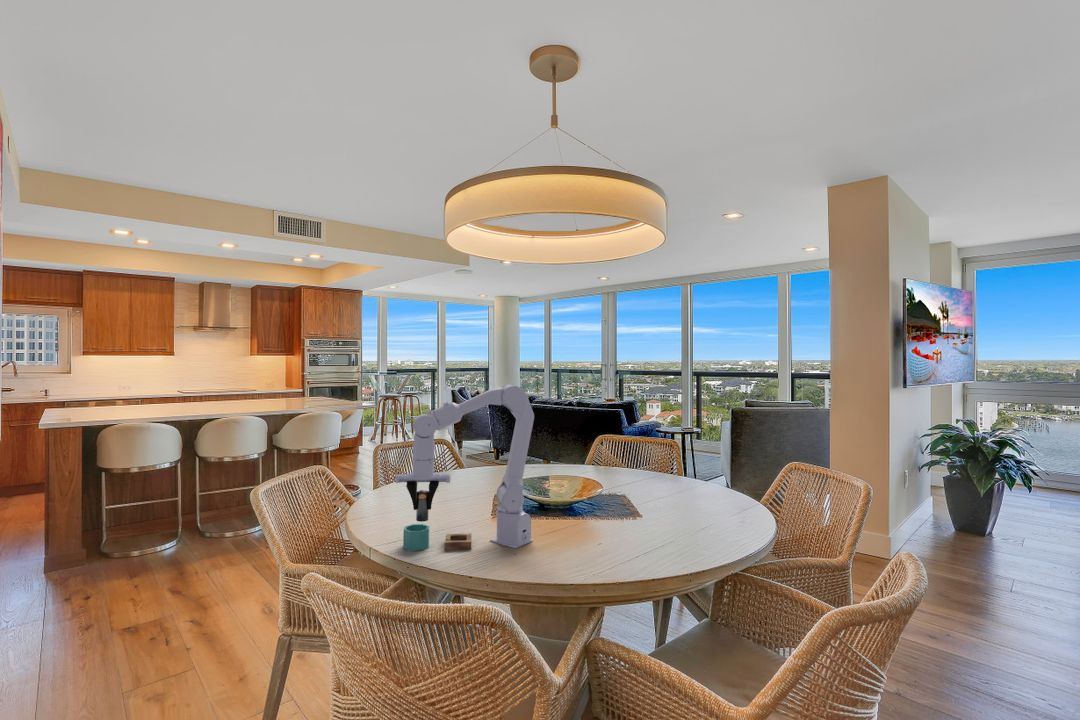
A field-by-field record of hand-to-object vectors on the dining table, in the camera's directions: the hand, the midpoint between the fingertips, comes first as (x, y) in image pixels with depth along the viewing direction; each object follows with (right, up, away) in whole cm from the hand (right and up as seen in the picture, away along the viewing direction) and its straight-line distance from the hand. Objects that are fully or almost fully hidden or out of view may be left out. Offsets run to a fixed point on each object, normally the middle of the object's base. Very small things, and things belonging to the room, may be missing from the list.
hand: (422, 508), depth 146 cm
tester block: (+10, -10, +1) cm, 14 cm away
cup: (-2, -10, 0) cm, 10 cm away
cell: (0, -3, 0) cm, 3 cm away
